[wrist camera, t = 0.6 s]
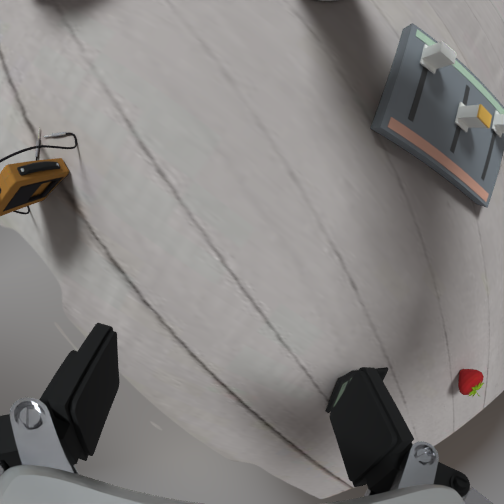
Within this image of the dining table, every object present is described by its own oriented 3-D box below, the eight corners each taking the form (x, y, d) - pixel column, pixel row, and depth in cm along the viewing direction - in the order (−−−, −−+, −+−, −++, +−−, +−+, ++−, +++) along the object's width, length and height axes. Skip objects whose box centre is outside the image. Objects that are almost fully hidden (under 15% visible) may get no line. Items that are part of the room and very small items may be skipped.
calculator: (371, 398, 52) (376, 407, 50) (322, 402, 51) (326, 413, 49) (386, 366, 49) (392, 375, 47) (335, 370, 48) (339, 381, 46)
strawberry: (470, 369, 54) (489, 391, 44) (449, 384, 54) (467, 408, 45) (472, 355, 52) (493, 378, 42) (450, 371, 53) (470, 396, 43)
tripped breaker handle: (459, 101, 30) (481, 99, 25) (470, 112, 30) (492, 111, 25) (454, 122, 31) (477, 121, 26) (465, 132, 32) (488, 133, 26)
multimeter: (60, 106, 31) (-36, 93, 12) (88, 155, 34) (-12, 168, 15) (7, 168, 32) (-80, 189, 13) (32, 214, 35) (-56, 256, 17)
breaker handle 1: (424, 44, 27) (443, 36, 22) (437, 55, 27) (457, 48, 23) (419, 63, 28) (439, 55, 23) (433, 73, 29) (453, 68, 24)
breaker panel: (403, 28, 29) (412, 23, 26) (499, 115, 33) (510, 115, 30) (370, 128, 35) (380, 127, 32) (476, 204, 39) (487, 207, 36)
